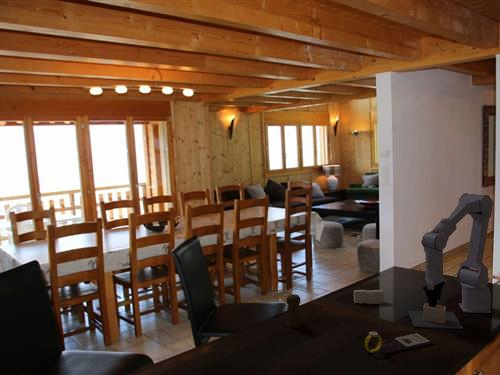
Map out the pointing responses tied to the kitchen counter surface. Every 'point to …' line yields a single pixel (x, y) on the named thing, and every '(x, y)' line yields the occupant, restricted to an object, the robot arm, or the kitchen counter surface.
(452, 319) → the rubber mat
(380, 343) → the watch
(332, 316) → the kitchen counter surface
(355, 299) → the napkin holder
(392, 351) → the chocolate bar
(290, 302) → the cork
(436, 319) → the card box
